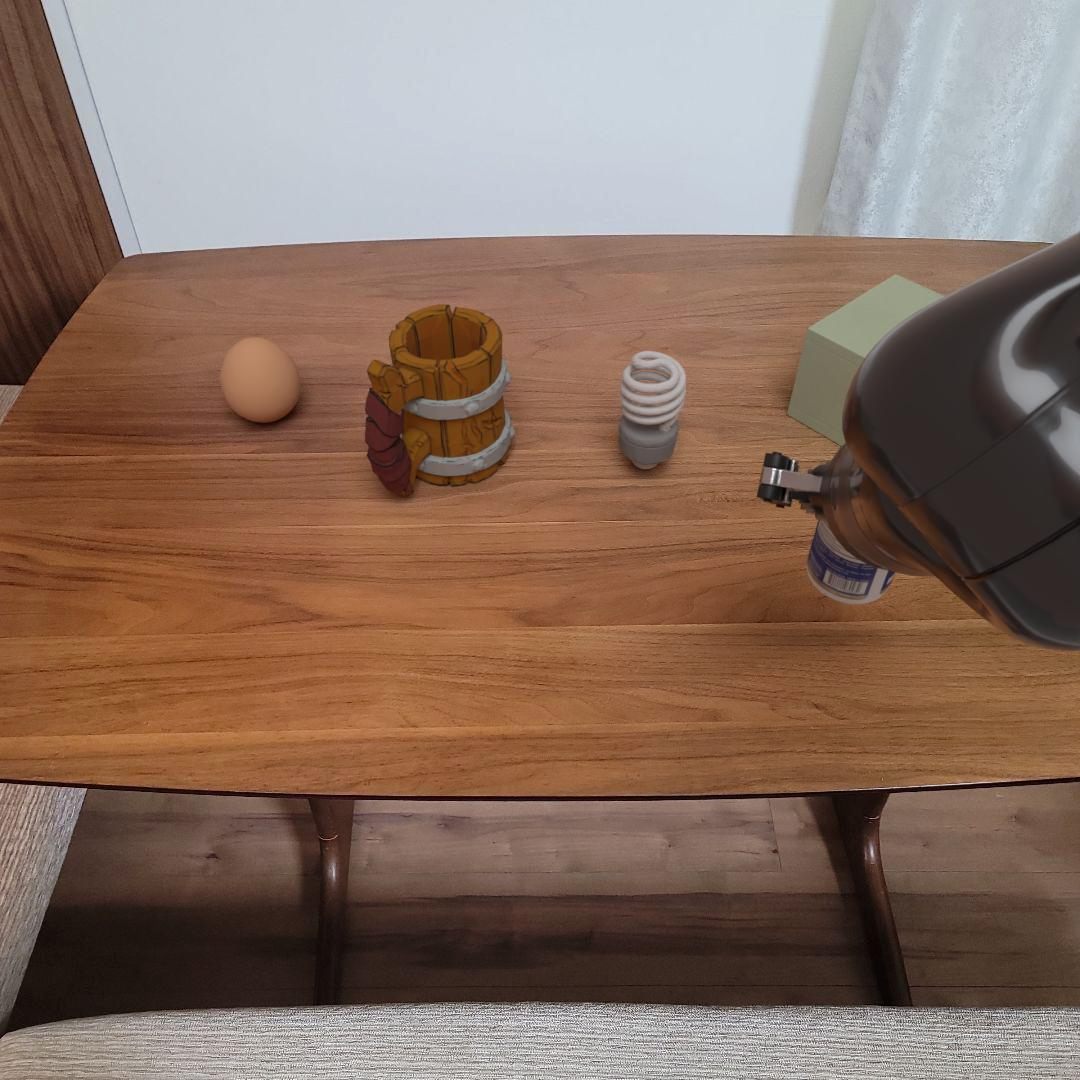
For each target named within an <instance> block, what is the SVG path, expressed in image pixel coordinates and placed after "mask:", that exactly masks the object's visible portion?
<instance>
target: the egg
mask: <svg viewBox="0 0 1080 1080" xmlns="http://www.w3.org/2000/svg"><path fill="white" fill-rule="evenodd" d="M219 385H220V389H221V393H222V396H223V398H224V400H225V402H226V404H227V405H228V407H230V409H231V410H232V411H233V412H234V413H236V414H237V415H238V416H240V417H242V418H244V419H245V420H247V421H251V422H255V423H265V424H266V423H272V422H275V421H278V420H281V419H282V418H285V417H286V416H287V415H288V414H289V413H290V412H291V411H292V410H293V409H294V407H295V406H296V405H297V403H298V401H299V398H300V395H301V390H302V382H301V376H300V372H299V369H298V367H297V363H296V362H295V360H294V358H292V356H291V355H290V354H289V353H288V352H287V351H286V350H285V348H283V347H282V346H280V345H279V344H278V343H276V342H274V341H273V340H270V339H268V338H266V337H261V336H260V337H259V336H250V337H246V338H243V339H240V340H238V341H237V342H236V343H234V345H232V346H231V347H230V348H229V349H228V351H227V352H226V355H225V356H224V358H223V361H222V364H221V368H220V372H219Z"/></svg>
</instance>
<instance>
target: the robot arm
mask: <svg viewBox="0 0 1080 1080" xmlns="http://www.w3.org/2000/svg"><path fill="white" fill-rule="evenodd" d="M943 296H944V297H942V298H941V299H939V300H937V301H935V302H933V303H932V304H930V305H928V306H926V307H924V308H923V309H921V310H919V311H917V312H916V313H914V314H912V315H911V316H910V317H908V318H907V319H905V320H904V321H902V322H901V323H899V324H898V325H897V326H896V327H894V328H893V329H892V330H891V331H890V332H888V333H887V334H886V335H885V336H884V337H883V338H882V339H881V340H880V341H879V342H878V343H877V344H876V345H875V346H874V347H873V349H872V350H871V351H870V352H869V353H868V355H867V356H866V357H865V359H864V360H863V362H862V363H861V365H860V367H859V368H858V370H857V372H856V374H855V375H854V377H853V379H852V382H851V384H850V387H849V390H848V392H847V395H846V398H845V403H844V408H843V413H842V431H843V435H844V439H845V442H846V443H845V444H844V445H843V446H840V448H839V449H838V451H836V453H835V454H834V455H833V457H832V459H831V460H827V461H826V463H824V464H823V463H822V464H819V465H817V466H815V467H814V468H808V469H807V472H806V473H805V472H799V468H800V466H799V460H798V459H794V458H790V457H789V456H787V455H784V454H783V453H782V452H779V451H772V453H771V452H765V454H764V458H763V462H762V463H763V464H762V468H761V473H760V478H759V483H758V487H757V488H758V489H757V493H756V498H758V499H760V500H762V502H765V503H769V504H771V505H775V508H778V509H785V507H787V508H791V507H792V504H793V503H792V502H793V501H798V504H800V508H799V509H800V510H801V511H805V514H809V515H814V517H815V519H816V520H817V521H818V520H822V521H827V523H828V526H829V528H830V530H831V531H832V533H833V535H834V536H835V538H836V539H837V541H838V542H839V543H840V544H841V545H842V547H843V548H844V549H845V550H847V551H848V552H849V553H850V554H851V555H853V556H854V557H855V558H857V559H859V560H860V561H862V562H864V563H866V564H868V565H870V566H873V567H876V568H879V569H883V570H887V571H892V572H896V573H897V574H903V575H907V576H913V577H925V578H930V577H936V578H937V579H938V581H940V582H941V583H943V585H944V586H945V587H946V588H947V589H948V590H949V591H951V592H952V593H953V594H954V595H955V596H956V597H957V598H959V599H960V600H961V601H962V602H963V603H964V604H966V605H967V606H968V607H969V608H970V609H972V610H973V611H974V612H975V614H977V615H978V616H980V617H981V618H982V619H984V620H985V621H986V622H987V623H988V624H990V625H991V626H993V627H994V628H996V629H997V630H998V631H1000V632H1001V633H1003V634H1004V635H1006V636H1008V637H1010V638H1012V639H1014V640H1016V641H1019V642H1021V643H1023V644H1026V645H1029V646H1033V647H1037V648H1040V649H1044V650H1051V651H1059V652H1080V230H1079V231H1077V232H1075V233H1072V234H1070V235H1069V236H1066V237H1065V238H1063V239H1061V240H1059V241H1057V242H1055V243H1052V244H1051V245H1049V246H1047V247H1045V248H1043V249H1041V250H1039V251H1036V252H1034V253H1031V254H1030V255H1028V256H1025V257H1023V258H1021V259H1019V260H1016V261H1015V262H1013V263H1011V264H1008V265H1006V266H1005V267H1004V266H1003V267H1002V268H1000V269H998V270H995V271H994V272H991V273H989V274H987V275H985V276H982V277H981V278H978V279H977V280H974V281H973V282H970V283H968V284H966V285H964V286H962V287H960V288H958V289H955V290H953V291H951V292H950V293H948V294H946V295H943Z"/></svg>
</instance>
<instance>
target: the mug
mask: <svg viewBox="0 0 1080 1080" xmlns="http://www.w3.org/2000/svg"><path fill="white" fill-rule="evenodd" d="M503 336H504V335H503V332H502V329H501V326H500V325H499V324H497V323H496V321H495V319H494V318H492V317H491V316H488V315H486V314H485V313H484V312H482V311H479V310H476V309H471V308H468V307H460V306H455V307H454V308H453V311H452V309H451V305H450V304H442V303H441V304H435V305H430V306H427V307H423V308H420V309H418V310H415V311H413V312H411V313H409V314H408V315H406V316H405V317H404V319H402V320H400V321H399V322H398V323H397V324H395V329H393V330H391V332H390V334H389V336H388V347H389V352H390V359H391V364H389V363H386V362H384V361H382V360H379V359H373V360H371V362H370V363H369V365H368V368H367V369H366V372H367V375H368V376H367V377H368V379H369V381H370V384H371V387H369V389H368V393H367V396H366V399H365V406H364V411H365V414H366V415H367V416H366V417H365V428H364V442H365V444H366V445H367V446H368V448H367V454H366V457H367V459H368V461H369V463H370V467H371V470H372V472H373V473H374V474H375V475H376V476H377V478H378V479H379V482H380V483H381V484H382V486H383V487H384V489H386V490H387V491H389V492H391V493H392V494H397V495H398V496H401V497H407V496H408V495H409V494H410V493H411V494H413V493H414V487H415V484H416V478H418V479H421V480H423V481H425V482H427V483H428V484H433V485H436V486H448V485H449V484H450V485H451V486H452V487H455V486H465V485H466V484H467V482H469V483H474V484H475V483H478V482H480V481H483V480H484V479H487V478H489V477H491V476H492V475H493V474H495V473H496V472H497V471H498V470H499V466H500V465H504V464H505V463H506V461H507V459H508V457H509V453H510V449H511V443H512V439H514V438H515V436H516V430H515V427H514V426H512V420H511V417H510V414H509V412H508V410H507V408H506V407H505V399H504V394H505V392H506V390H507V386H509V385H510V384H511V381H512V375H511V374H510V371H508V368H507V363H506V359H505V357H504V356H503Z"/></svg>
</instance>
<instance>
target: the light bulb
mask: <svg viewBox="0 0 1080 1080" xmlns="http://www.w3.org/2000/svg"><path fill="white" fill-rule="evenodd" d="M630 361H631V363H630V364H629V365H626V367H624V369H623V371H622V373H621V380H620V384H619V389H620V390H619V391H620V393H619V401H620V403H621V407H620V410H621V413H622V415H621V416H620V419H619V423H618V446H619V450H620V452H621V453H622V455H623V456H625V457H626V458H627V459H628V460H630V461H631V462H632V463H633V465H634V466H635V467H636V468H639V469H642V470H650V469H653V468H655V467H657V465H658V464H659V463H662V462H665V461H666V460H668V459H670V457H672V455H673V454H674V452H675V448H676V444H677V441H678V438H679V437H678V436H679V431H680V430H679V427H680V425H679V420H678V419H679V416H680V415H681V414H680V413H681V411H682V409H683V407H684V404H685V397H686V393H687V386H686V385H687V374H686V371H685V369H684V367H683V366H682V365H681V363H680V362H679V361H678V360H676V358H674V357H672V356H670V355H668V354H666V353H663V352H659V351H653V350H643V351H639V352H637V353H635V354H634V355H633V356H632V357H631V359H630ZM648 370H649V371H648ZM649 381H652V382H649ZM654 382H656V383H654ZM640 393H643V394H640ZM646 394H654V395H646Z"/></svg>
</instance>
